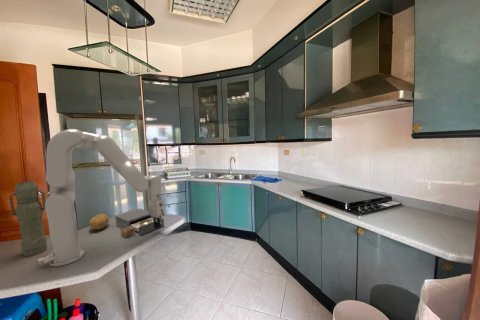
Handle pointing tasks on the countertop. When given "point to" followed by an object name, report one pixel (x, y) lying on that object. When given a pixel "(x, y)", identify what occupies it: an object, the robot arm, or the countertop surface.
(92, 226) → the potato
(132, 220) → the box
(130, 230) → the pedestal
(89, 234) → the countertop surface
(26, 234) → the thermos
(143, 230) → the tray
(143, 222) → the disc
